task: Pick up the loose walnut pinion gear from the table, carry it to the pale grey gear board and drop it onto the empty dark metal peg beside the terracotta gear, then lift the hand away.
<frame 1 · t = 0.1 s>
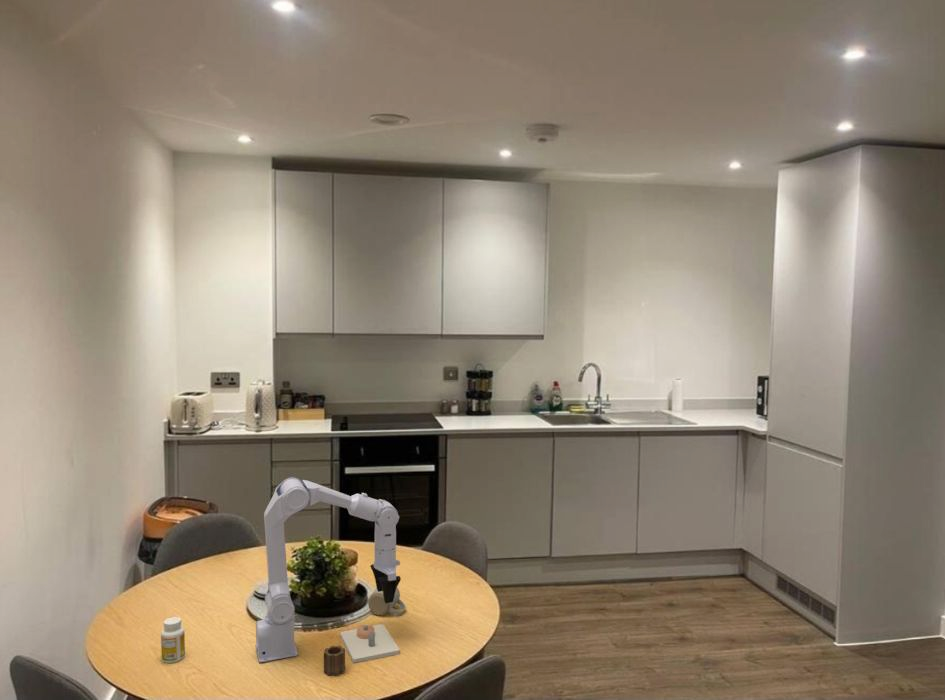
hand: (385, 596, 185), 10 cm above the table, fingers open, 7 cm apart
supplement bottle: (173, 658, 172), on the table
ceramic mug: (388, 611, 199), on the table
walnut pinion gear: (334, 670, 167), on the table
gear board: (369, 644, 180), on the table
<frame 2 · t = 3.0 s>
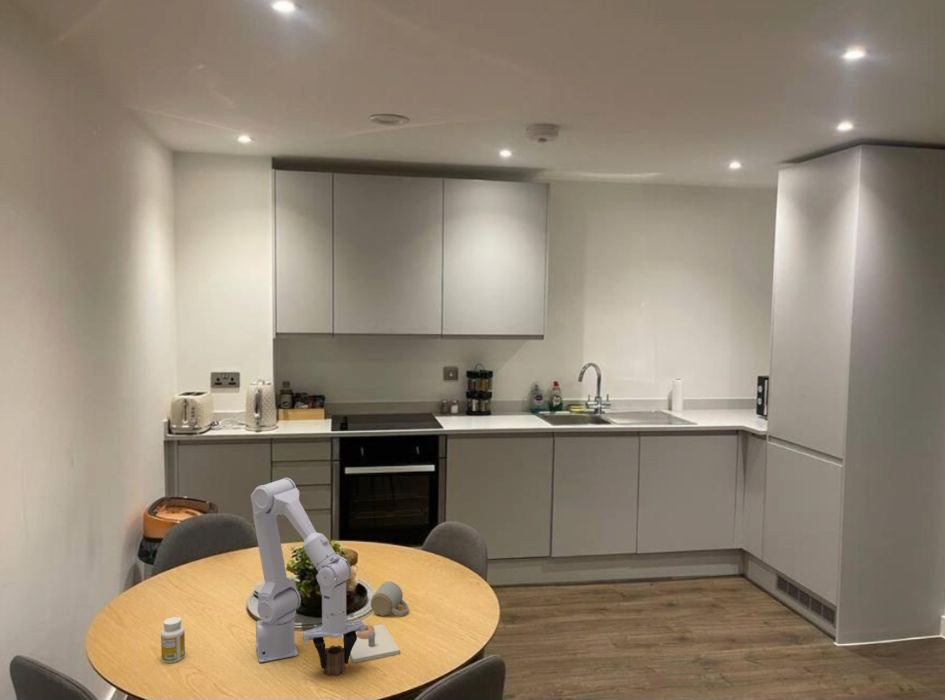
hand: (334, 664, 167), 2 cm above the table, fingers closed on walnut pinion gear, 5 cm apart
walnut pinion gear: (334, 670, 167), on the table, touching gripper
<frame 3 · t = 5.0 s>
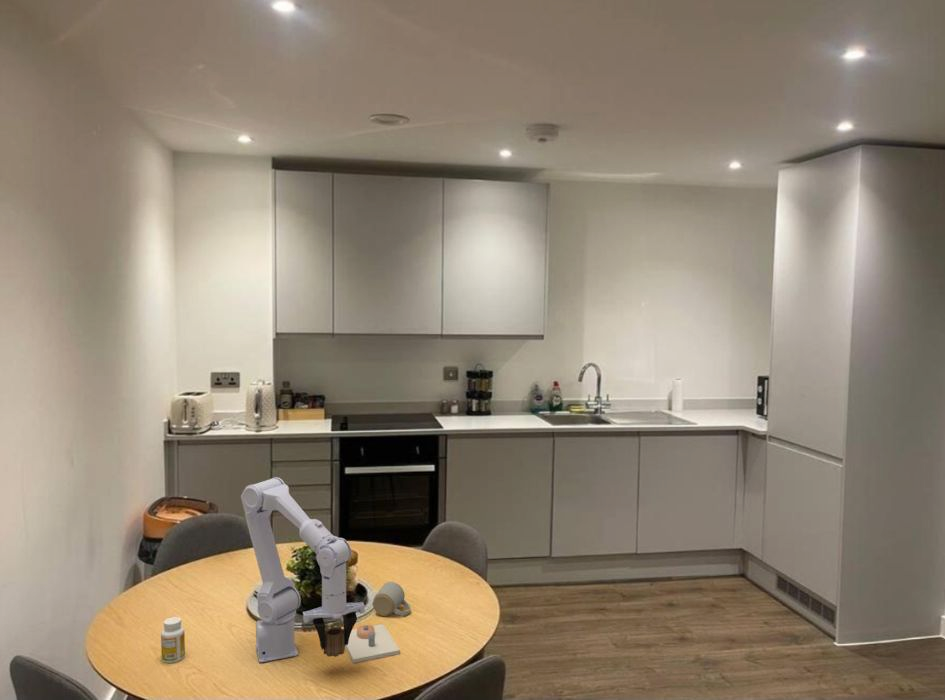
hand: (334, 645, 167), 6 cm above the table, fingers closed on walnut pinion gear, 5 cm apart
walnut pinion gear: (334, 651, 167), point 5 cm above the table, touching gripper
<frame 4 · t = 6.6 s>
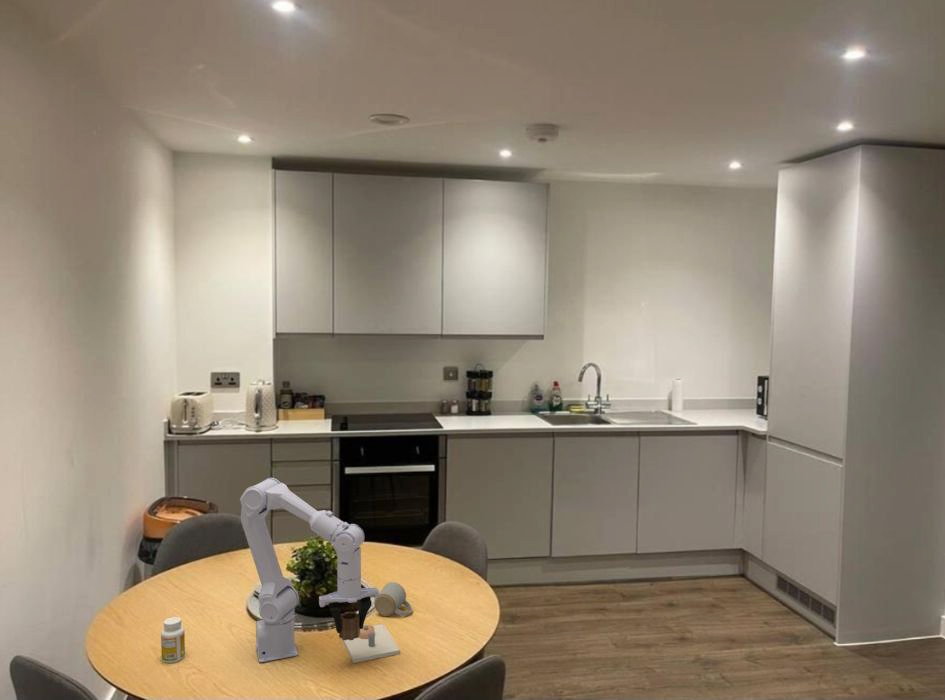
hand: (349, 629, 170), 8 cm above the table, fingers closed on walnut pinion gear, 5 cm apart
walnut pinion gear: (349, 635, 170), point 7 cm above the table, touching gripper
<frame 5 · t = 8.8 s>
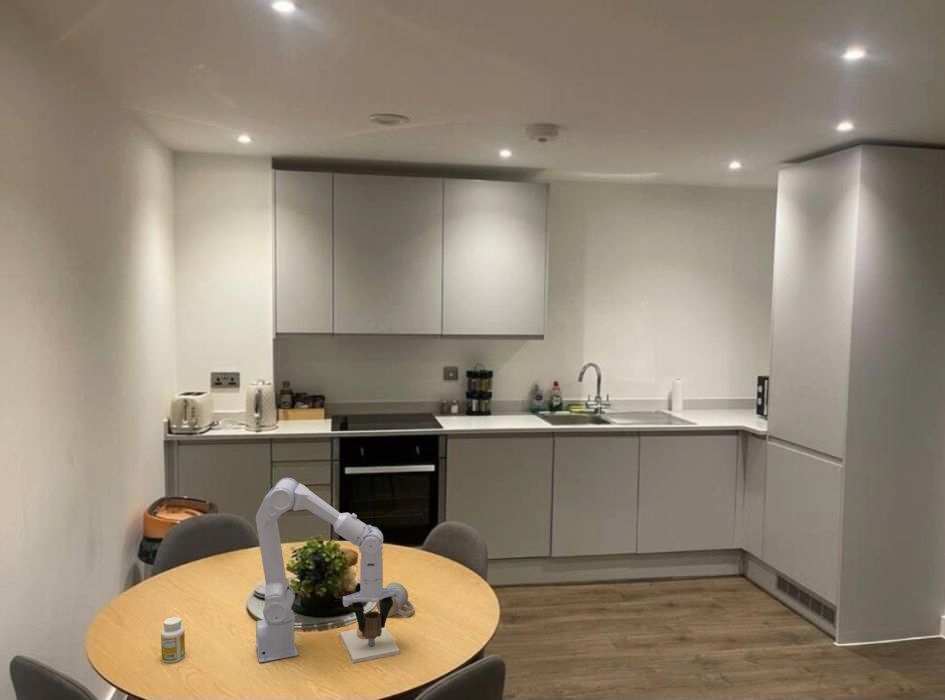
hand: (371, 628, 177), 6 cm above the table, fingers closed on walnut pinion gear, 5 cm apart
walnut pinion gear: (371, 634, 177), point 4 cm above the table, touching gripper
when the fingers open (4 cm above the table, at t = 10.3 s): walnut pinion gear drops 1 cm, resting on gear board.
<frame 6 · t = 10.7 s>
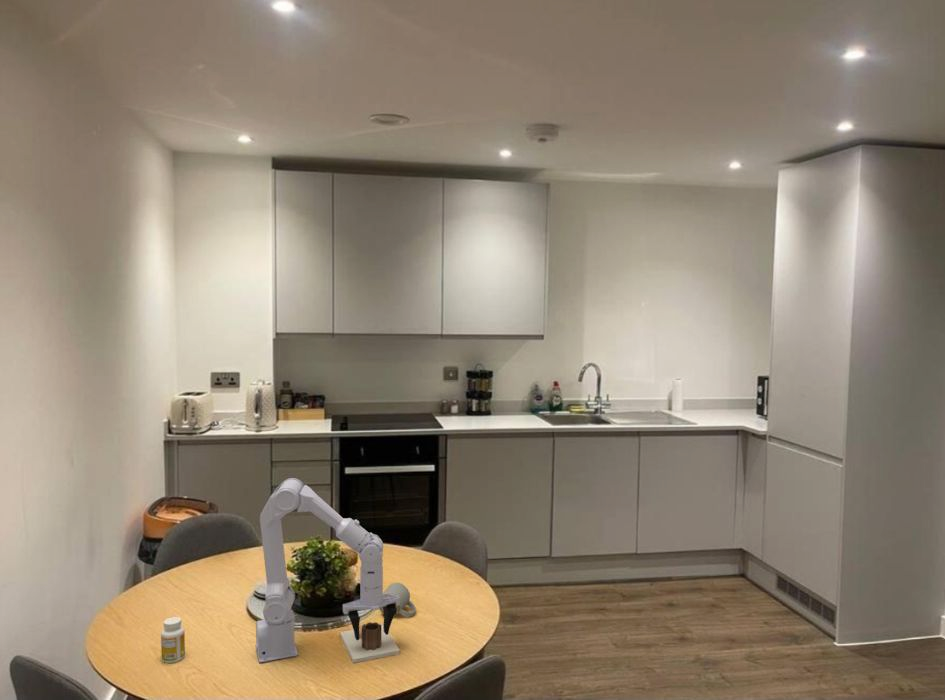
hand: (371, 635, 177), 4 cm above the table, fingers open, 7 cm apart
walnut pinion gear: (371, 645, 177), point 1 cm above the table, touching gear board
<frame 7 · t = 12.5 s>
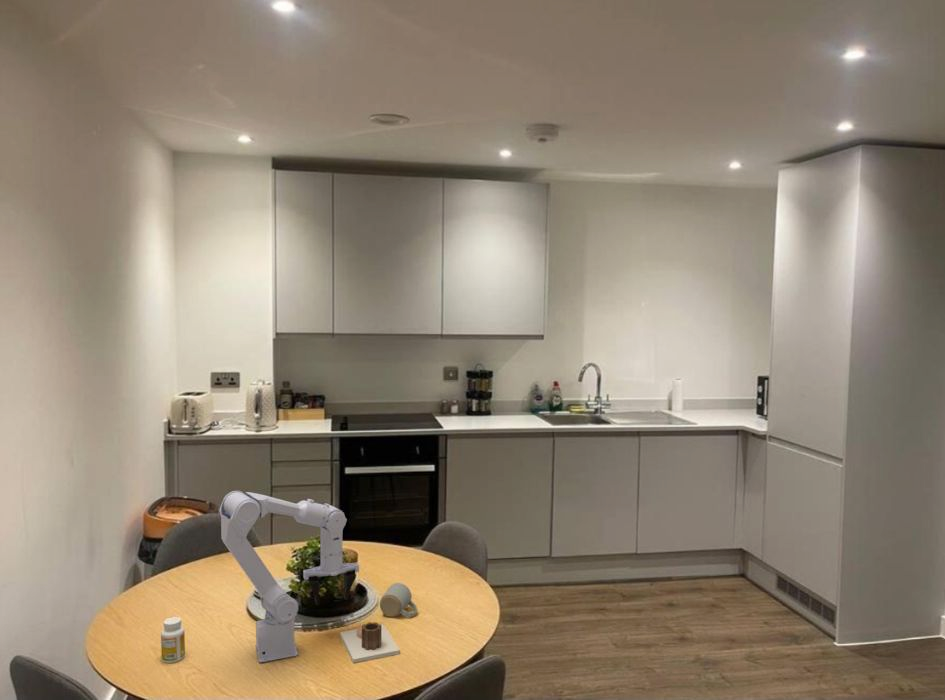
hand: (331, 600, 184), 9 cm above the table, fingers open, 7 cm apart
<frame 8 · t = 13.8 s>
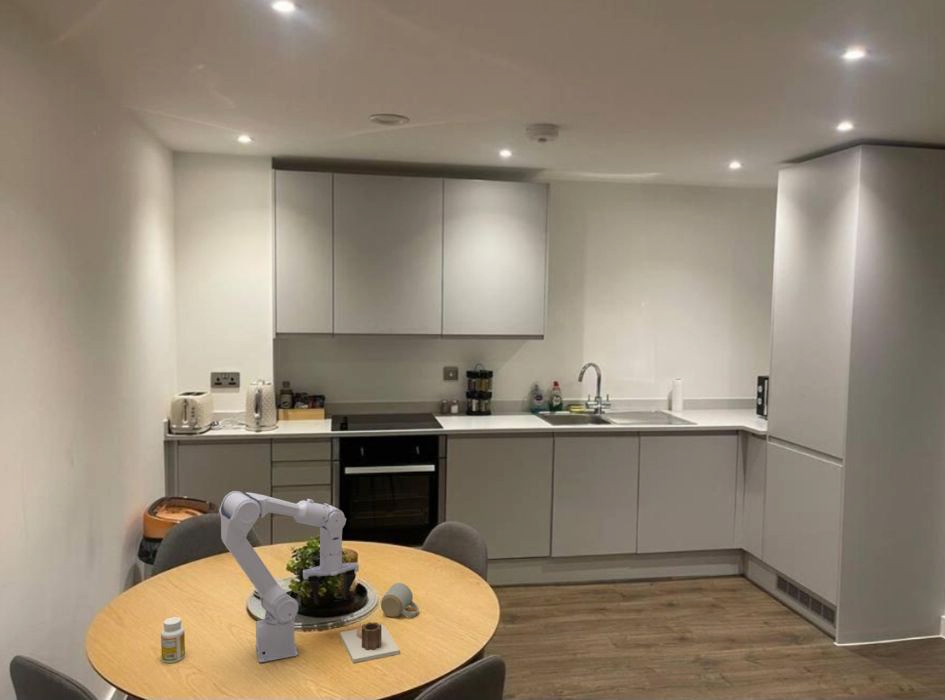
hand: (331, 600, 184), 9 cm above the table, fingers open, 7 cm apart
at the end: walnut pinion gear 0.0 cm from the target spot on the gear board, point 1.0 cm above the gear board's base; walnut pinion gear tilted 0°; the gripper is holding nothing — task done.
